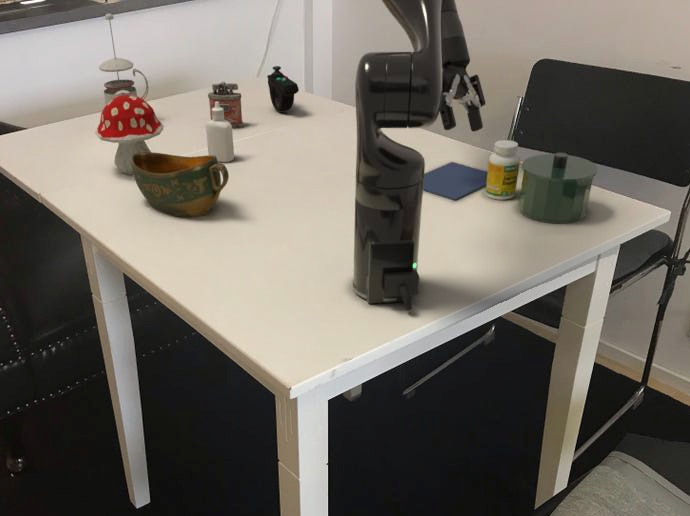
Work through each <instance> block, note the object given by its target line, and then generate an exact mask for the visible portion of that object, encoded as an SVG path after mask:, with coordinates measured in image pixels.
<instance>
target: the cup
mask: <svg viewBox="0 0 690 516" xmlns="http://www.w3.org/2000/svg"><path fill="white" fill-rule="evenodd" d="M131 164H132V171H133V174H132V176H133V178H134V181H135V183H136V185H137V188H138V190H139V191H140V193H141V194H142V196H143V197H144V198H145V199H146V201H147V203H148V205H149V206H150V207H152V208H153V209H155V210H157V211H159V212H161V213H164V214H167V215H171V216H175V217H180V218H181V217H183V218H197V217H202V216H206V215H208V214H210V213H211V212H212V211H213V209H214V206H215V205H217V201H218V200H219V198H220V194H221V192H222V191H223V189H224V188H225V187H226V185H227V184H228V181H229V177H230V176H229V171H228V168H227V167H226V165H225V164H223V163H222V162H218V161H217V158H216V156H215V155H209V156H208V155H198V156H183V155H173V154H168V153H160V152H152V151H151V152H143V153H136V154H134V155H133V156H132V158H131ZM221 176H222V177H221Z"/></svg>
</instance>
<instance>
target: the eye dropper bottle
mask: <svg viewBox="0 0 690 516" xmlns="http://www.w3.org/2000/svg"><path fill="white" fill-rule="evenodd" d="M212 119H213V120H211V119H210V120H209V121H207V122H206V124H205V131H206V132H205V133H206V143H207V156H209V155H215V156H216V158H217V161H218V163H229V162H232V161H233V160H235V149H234V148H235V147H234V137H233V134H234V133H233V128H232V126H231V124H230V123H229V122H228V121H226V120H224V110H223V108H221V107H220V105H219V102H215V107H214V108H213V109H212Z"/></svg>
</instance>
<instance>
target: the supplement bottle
mask: <svg viewBox="0 0 690 516" xmlns="http://www.w3.org/2000/svg"><path fill="white" fill-rule="evenodd" d="M518 150H519V143H518V142H517V141H515V140H514V141H513V140H509V139H508V140H507V139H502V140H497V141H496V142H494V147H493V151H494V152H493V153H492V154H490V156H489V159H488V164H487V165H488V167H487V172H488V174H487V183H486V186H485V195H486V196H487V197H488V198H490V199H494V200H497V201H498V200H501V201H504V200H505V201H506V200H509V199H513V198H514V197H515V195H516V192H517V185H518V178H519V170H520V163H521V158H520V156H519V154H518Z"/></svg>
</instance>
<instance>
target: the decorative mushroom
mask: <svg viewBox="0 0 690 516" xmlns="http://www.w3.org/2000/svg"><path fill="white" fill-rule="evenodd" d="M143 99H144V98H142V99H141V97H140V96H138V95H137V96H133V95H121V96H118V97H116V98H114V99H112V100H111V101H110V102H109V103H108V104H107V105H106V104H105V106H104V108H103V109H102V111H101V113H100V120H99V124H98V126H97V128H96V130H95V132H94V133H95V135H96V136H97V137H98V138H99V139H100V140H101V141H102V142H103V141H104V142H108V143H112V144H118V145H117V150H116V152H115V155H114V165H115V166H116V167H117V168H118V170H119V171H121V172H120V173H123V174H126V175H133V171H132V164H131V158H132V156H133V155H134V154H136V153H143V152H152V151H151V150H150V148H149V147H148V145H147V143H146V141H147V140H151V139H153V138H155V137H157V136H160V135H161V133H162V132H163V131H164V127H165V125H164V124H163V123H162V122H161V120H159V119H158V117H157V115H156V113H155V110H154V108H153V107H152V106H151V105H150V104H149V103H148V102H147V101H146V100H145V99H144V100H143Z"/></svg>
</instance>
